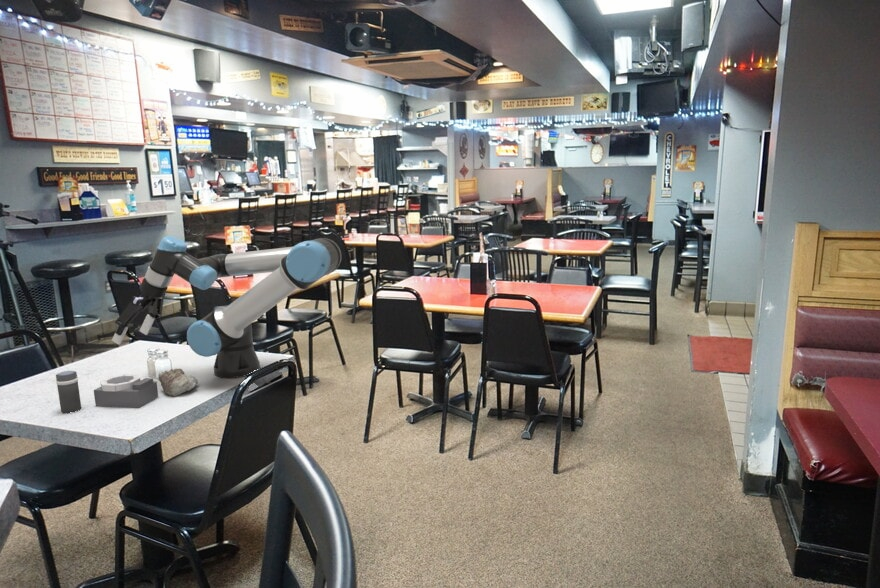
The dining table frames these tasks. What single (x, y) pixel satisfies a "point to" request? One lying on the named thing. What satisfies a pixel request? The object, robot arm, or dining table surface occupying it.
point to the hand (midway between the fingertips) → (130, 337)
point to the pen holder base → (125, 391)
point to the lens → (68, 391)
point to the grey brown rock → (176, 381)
